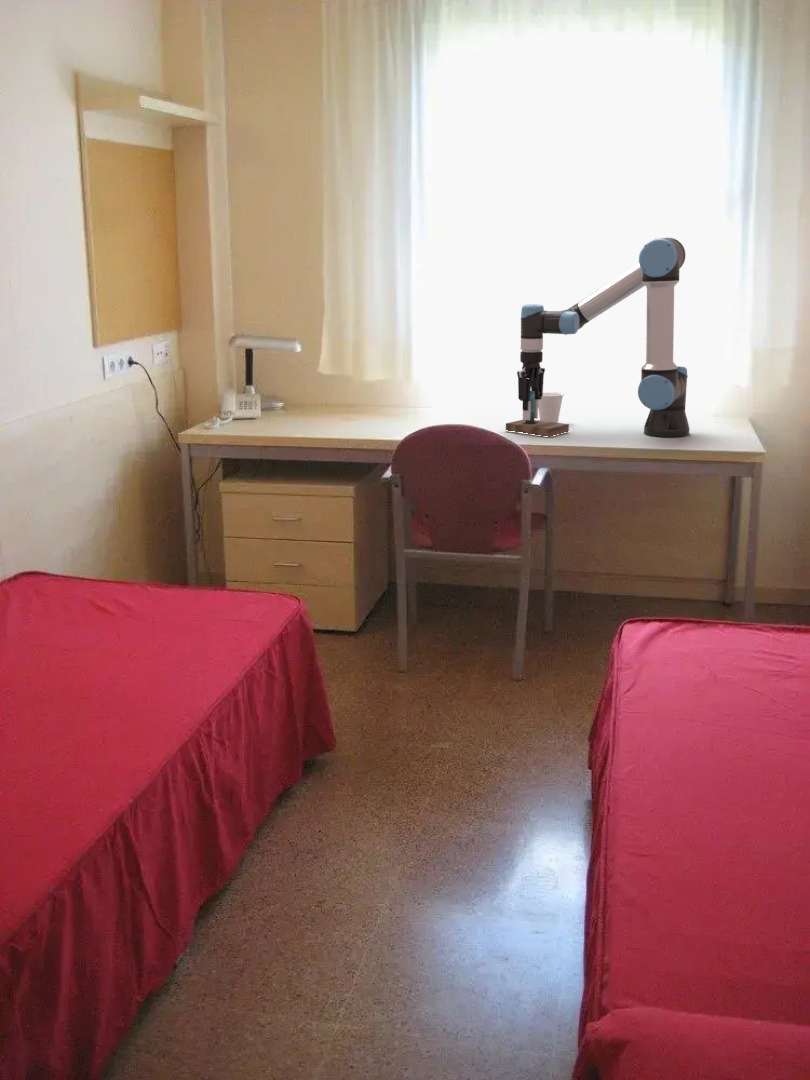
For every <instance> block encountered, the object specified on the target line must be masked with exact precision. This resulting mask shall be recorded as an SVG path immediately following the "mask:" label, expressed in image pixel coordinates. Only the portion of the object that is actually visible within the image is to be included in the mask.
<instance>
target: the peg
mask: <svg viewBox="0 0 810 1080" xmlns="http://www.w3.org/2000/svg"><path fill="white" fill-rule="evenodd" d="M529 401H531V416H530V420H526V421H525V424H534V420H535V418H534V407H535V391H531V390H530V398H529Z"/></svg>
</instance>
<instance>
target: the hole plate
mask: <svg viewBox="0 0 810 1080" xmlns="http://www.w3.org/2000/svg"><path fill="white" fill-rule="evenodd" d="M525 421H526V420H523V419H520V420H515V421H510V422H506V423H505V431H506V430H508V431H515V432H523V433H528V434H535V435H541V436H548V437H550V436H553V435H557V434H561V433H564V432H568V431H569V432H570V424H569V423H563V422H558V423H556V422H547V421H540V419H538V420H537V419H534V424H525ZM548 437H547V438H548ZM550 438H551V437H550Z"/></svg>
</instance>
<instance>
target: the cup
mask: <svg viewBox="0 0 810 1080" xmlns="http://www.w3.org/2000/svg"><path fill="white" fill-rule="evenodd" d="M563 396H564V393H562V392H556V391H546V392H545V391H543V396H542V397H541V399H538V417H539V421H547V422H556V423H559V418H560V412H561V407H562V402H563Z"/></svg>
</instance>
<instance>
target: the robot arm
mask: <svg viewBox="0 0 810 1080" xmlns="http://www.w3.org/2000/svg"><path fill="white" fill-rule="evenodd" d="M685 260H686V249H685V247H684V245H683V244H682V243H681V241H679V240H678V239H676V238H673V237H658V238H657V237H655V238H653V239H651V240H649V241H648V242H646V243H645V244H644V245H643V246H642V248H641V250H640V252H639V254H638V263H636V264H634V265H633V266H631V267H630V268H628V269H627V270H626V271H624V272H622V273H620V274H619V275H617V276H616V277H615V278H613V279H611V280H610V281H609V282H608V283H606V284H604V285H603V286H601V287H599V289H597V290H595V291H593V292H592V293H591V294H589V295H588V296H586V297H585V298H583V299H581V300H580V301H578V302H577V303H576V304H574V305H571V306H570V307H569V308H567V309H564V310H545V309H544V307H545V306H544V305H543V304H537V303H536V304H533V303H532V304H529V303H528V304H524V305H523V306H522V307H521V311H520V313H521V315H520V350H521V352H520V354H519V355H520V357H519V360H520V362H521V363H522V367H521V370H518V371H517V372H516V375H517V384H518V385H517V388H518V389H517V390H518V392H517V393H518V400H519V401H520V402H521V401H522V420H530V416H531V401H529V398H530V391H535V407H534V420H537V419H538V417H539V410H538V399H541V397H542V396H543V392H544V379H545V378H544V377H545V376H544V375H545V372H546V368H544V367H541V364H540V363H542V362H543V351H542V350H543V349H544V348H543V347H544V334H546V335H547V334H553V335H554V334H555V335H575V334H577V332H578V330H580V329H582V328H583V327H584V326H585V325H586V324H588V323H590V322H591V321H592V320H594V319H596V318H597V317H598V316H599V315H602V314H603V313H605V312H606V311H608V310H610V309H611V308H613V307H614V306H616V305H617V304H619V303H620V302H622V301H624V300H625V299H626V298H629V297H630V296H631V295H633V294H635V293H636V292H638V291H640V290H641V289H642V288H644V287H646V338H645V339H646V344H645V346H646V347H645V352H646V353H645V355H646V357H645V358H646V359H645V361H646V362H645V364H644V365H642V366H641V371H640V372H641V373H640V374H641V376H640V378H641V381H640V382H639V384H638V388H637V395H638V399H639V401H640V402H641V404H642V405H643V406H644V407H645V408H647V409H649V413H648V415H647V418H646V421H645V423H644V427H643V433H644V434H645V435H647V436H652V437H658V438H659V437H660V438H679V437H686V436H688V435H690V425H689V420H688V417H687V413H686V402H687V387H688V386H687V383H688V368H687V367H685V366H678V365H677V364H676V363H675V362H674V335H675V334H674V330H675V329H674V328H675V326H674V325H675V323H674V322H675V317H674V316H675V287H676V285H677V284H678V283H679V282H680V269H681V268H682V267H683V265H684V263H685Z"/></svg>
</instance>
